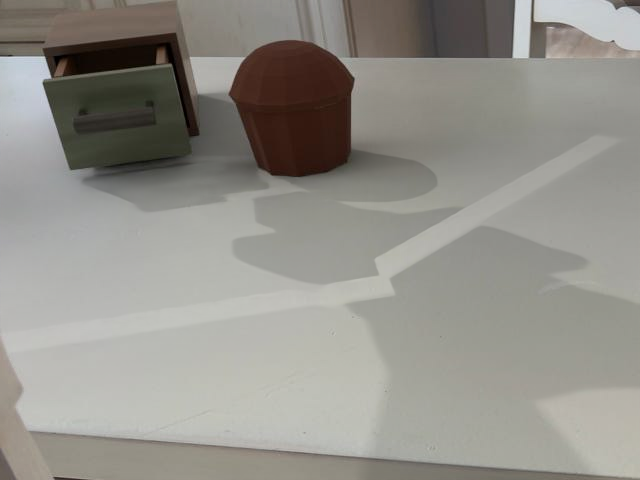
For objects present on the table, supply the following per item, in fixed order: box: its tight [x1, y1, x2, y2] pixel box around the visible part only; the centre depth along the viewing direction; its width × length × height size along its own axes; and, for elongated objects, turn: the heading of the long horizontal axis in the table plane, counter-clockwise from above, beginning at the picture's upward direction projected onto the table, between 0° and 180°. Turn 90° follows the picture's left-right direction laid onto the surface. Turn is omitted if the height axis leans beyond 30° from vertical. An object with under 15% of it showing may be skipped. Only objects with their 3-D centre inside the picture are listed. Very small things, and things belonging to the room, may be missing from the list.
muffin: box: [227, 39, 356, 177], centre depth 93 cm, size 12×11×10 cm
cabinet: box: [41, 0, 201, 137], centre depth 106 cm, size 16×13×10 cm
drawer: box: [41, 43, 193, 171], centre depth 97 cm, size 19×11×8 cm, turn 13°
